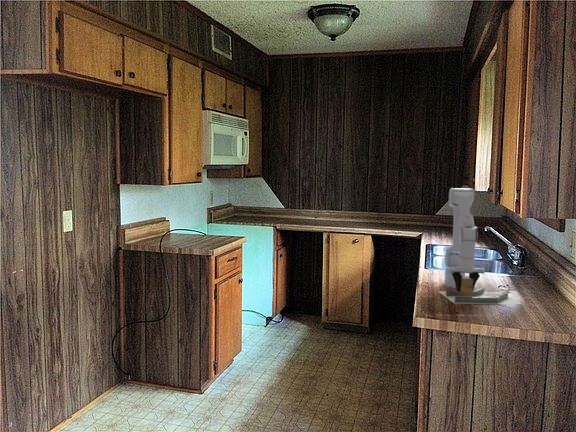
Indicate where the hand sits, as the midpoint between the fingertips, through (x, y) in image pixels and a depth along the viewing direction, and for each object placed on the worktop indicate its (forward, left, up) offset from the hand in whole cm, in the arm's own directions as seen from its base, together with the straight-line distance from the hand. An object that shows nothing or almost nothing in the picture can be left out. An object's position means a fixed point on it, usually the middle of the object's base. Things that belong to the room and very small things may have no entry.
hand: (464, 290), depth 199 cm
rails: (-2, +7, -4) cm, 8 cm away
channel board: (-2, +7, -4) cm, 8 cm away
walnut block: (0, 0, -2) cm, 2 cm away
